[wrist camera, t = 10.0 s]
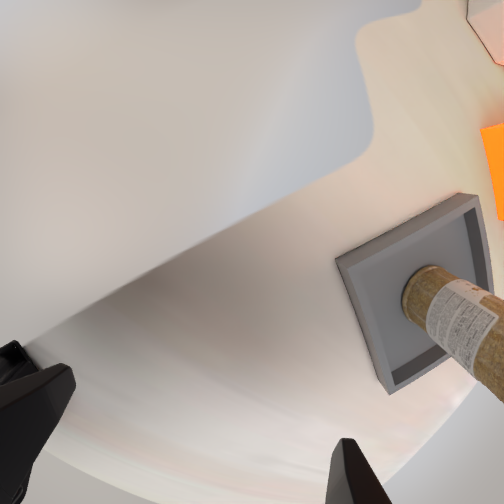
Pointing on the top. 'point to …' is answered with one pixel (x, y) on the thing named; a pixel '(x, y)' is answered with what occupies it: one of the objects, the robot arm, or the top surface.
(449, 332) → the spice shaker
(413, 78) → the top surface
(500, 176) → the orange juice
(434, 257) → the tray
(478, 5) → the jar
